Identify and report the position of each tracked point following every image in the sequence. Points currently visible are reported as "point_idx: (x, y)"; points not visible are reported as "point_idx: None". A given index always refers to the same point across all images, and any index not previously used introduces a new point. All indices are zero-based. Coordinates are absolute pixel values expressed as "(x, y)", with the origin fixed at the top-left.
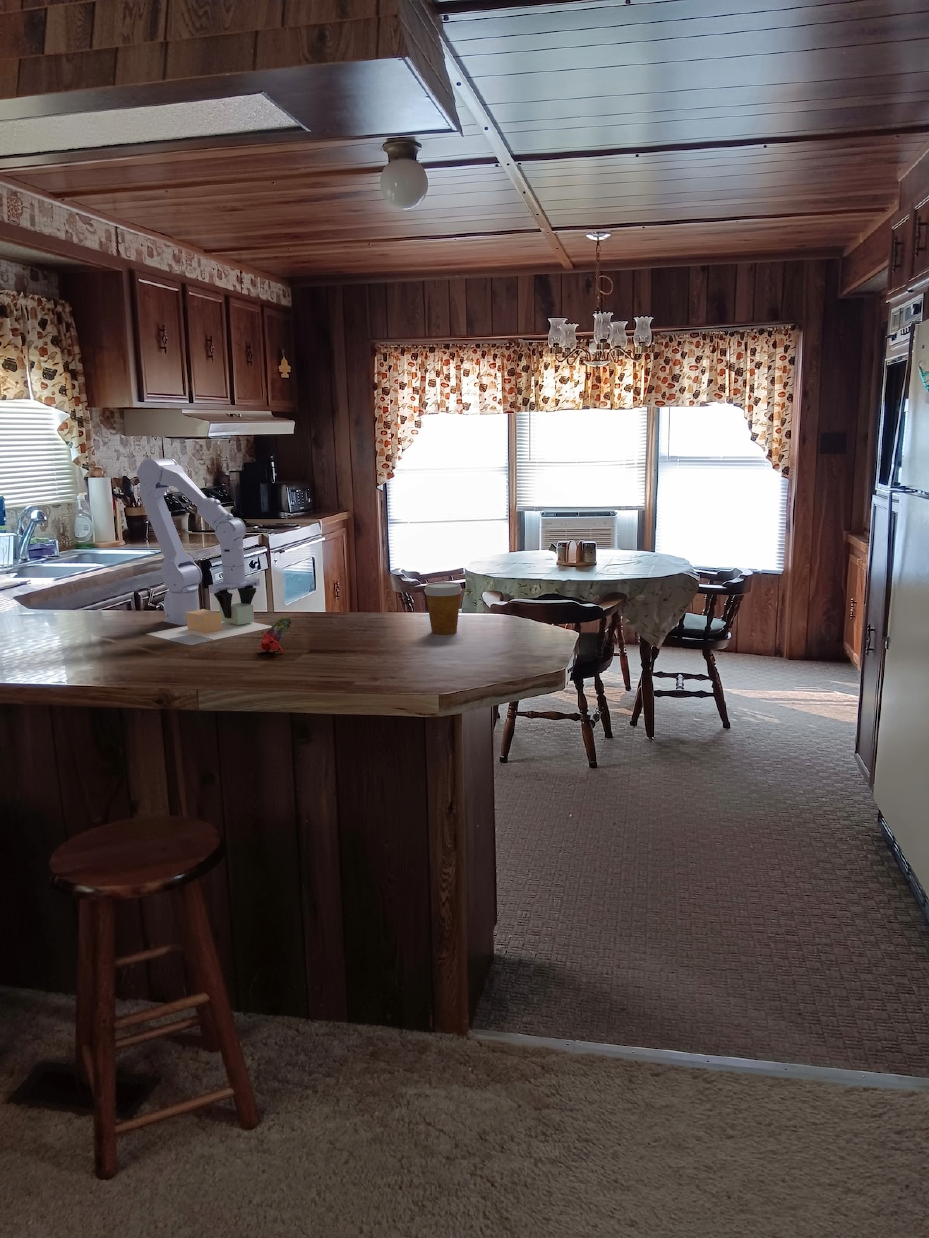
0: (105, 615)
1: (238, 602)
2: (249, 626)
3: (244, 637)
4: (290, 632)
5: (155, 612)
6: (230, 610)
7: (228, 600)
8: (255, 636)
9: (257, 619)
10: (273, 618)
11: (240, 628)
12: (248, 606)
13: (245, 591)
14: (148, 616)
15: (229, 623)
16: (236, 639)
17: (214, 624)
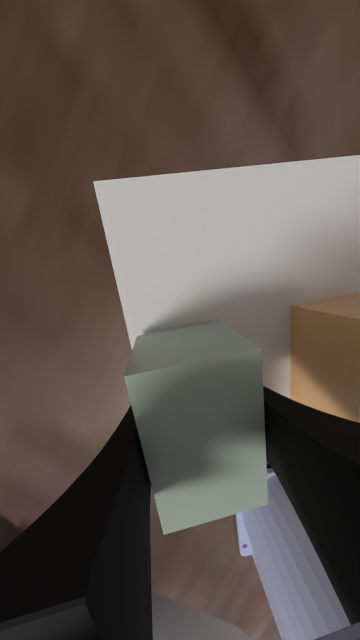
0: None
1: (160, 505)
2: (184, 285)
3: (284, 133)
4: (60, 17)
5: (255, 628)
6: None
7: (336, 427)
8: (243, 106)
9: (77, 426)
10: (10, 406)
11: (231, 275)
12: (165, 366)
13: (125, 593)
14: None
15: None
16: (325, 125)
17: (348, 303)
